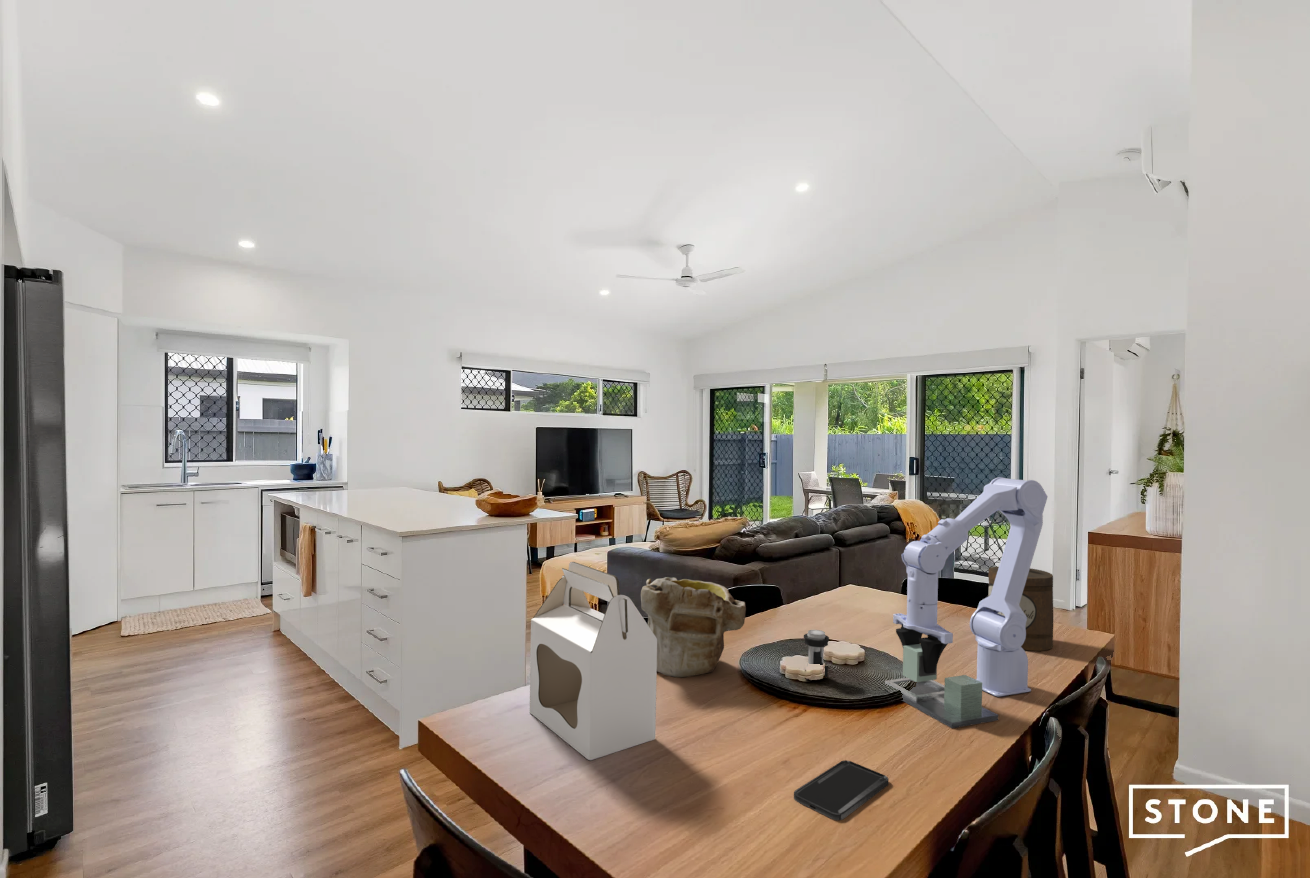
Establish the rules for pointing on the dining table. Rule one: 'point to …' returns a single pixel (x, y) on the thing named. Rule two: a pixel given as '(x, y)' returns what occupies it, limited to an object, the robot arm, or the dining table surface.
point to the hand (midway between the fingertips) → (920, 668)
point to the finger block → (915, 664)
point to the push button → (816, 647)
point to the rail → (942, 713)
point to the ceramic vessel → (689, 623)
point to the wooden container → (1034, 608)
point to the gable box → (593, 666)
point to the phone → (841, 789)
